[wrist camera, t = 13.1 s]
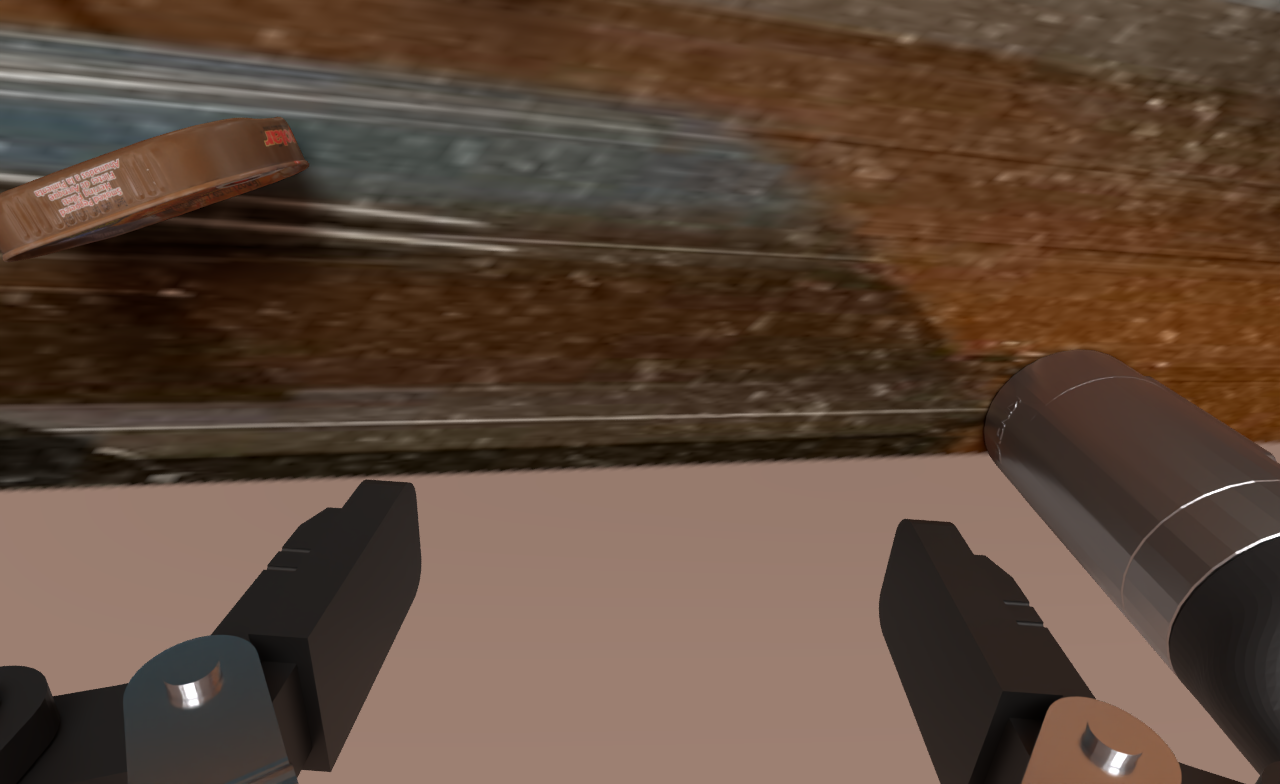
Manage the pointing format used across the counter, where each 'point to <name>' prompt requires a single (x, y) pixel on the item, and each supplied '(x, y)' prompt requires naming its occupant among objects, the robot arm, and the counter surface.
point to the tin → (145, 184)
